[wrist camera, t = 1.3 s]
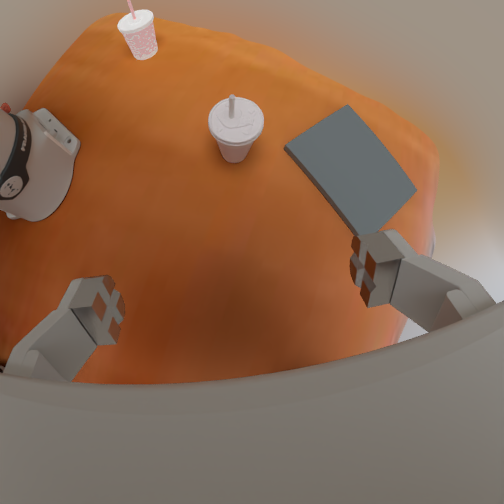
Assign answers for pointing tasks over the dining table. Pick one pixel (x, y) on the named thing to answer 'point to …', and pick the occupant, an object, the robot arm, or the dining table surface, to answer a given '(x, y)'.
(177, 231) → the dining table surface
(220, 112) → the smoothie
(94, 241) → the dining table surface
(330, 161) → the slate board
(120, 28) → the beverage cup
